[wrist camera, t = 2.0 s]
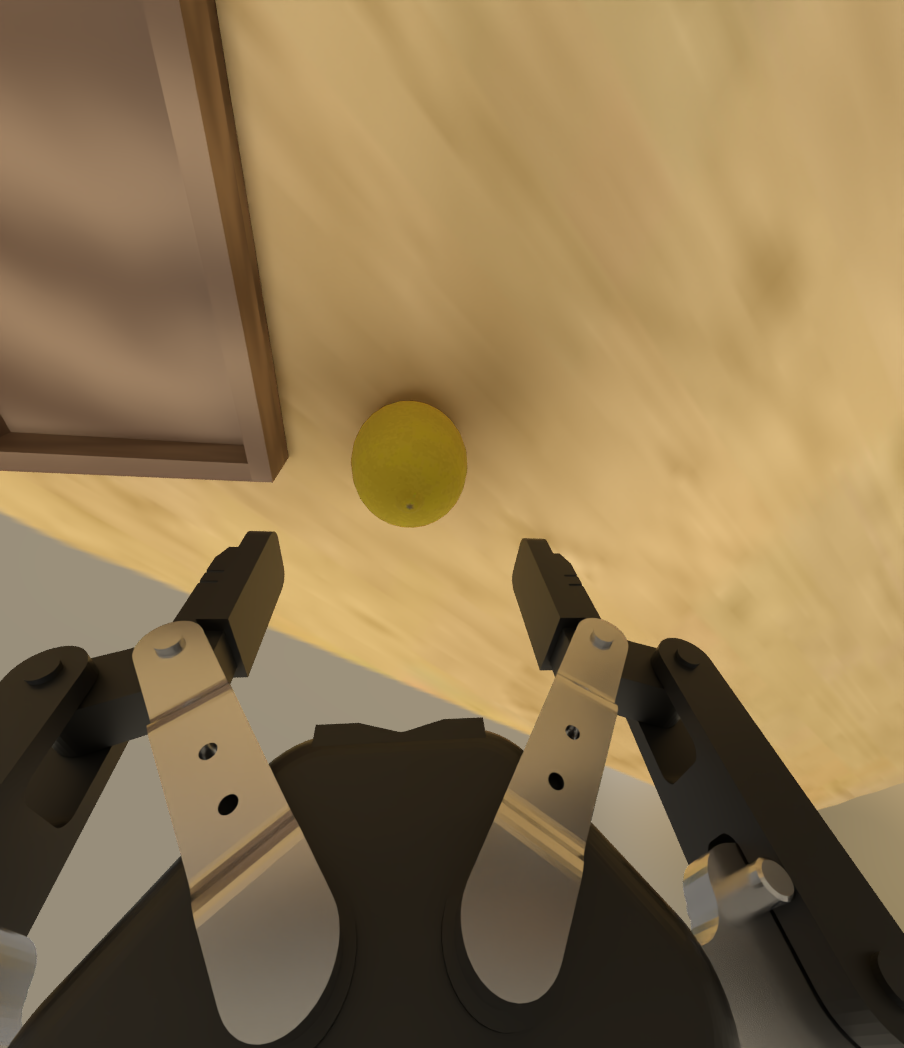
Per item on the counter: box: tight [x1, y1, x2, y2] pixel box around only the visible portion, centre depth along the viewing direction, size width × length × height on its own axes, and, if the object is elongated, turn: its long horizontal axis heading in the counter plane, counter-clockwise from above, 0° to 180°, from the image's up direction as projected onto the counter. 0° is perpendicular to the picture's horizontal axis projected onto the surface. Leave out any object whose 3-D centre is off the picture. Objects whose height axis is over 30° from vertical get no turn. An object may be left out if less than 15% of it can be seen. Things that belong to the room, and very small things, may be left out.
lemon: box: [351, 401, 467, 527], centre depth 18 cm, size 6×6×8 cm
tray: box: [0, 0, 288, 482], centre depth 15 cm, size 18×14×3 cm
